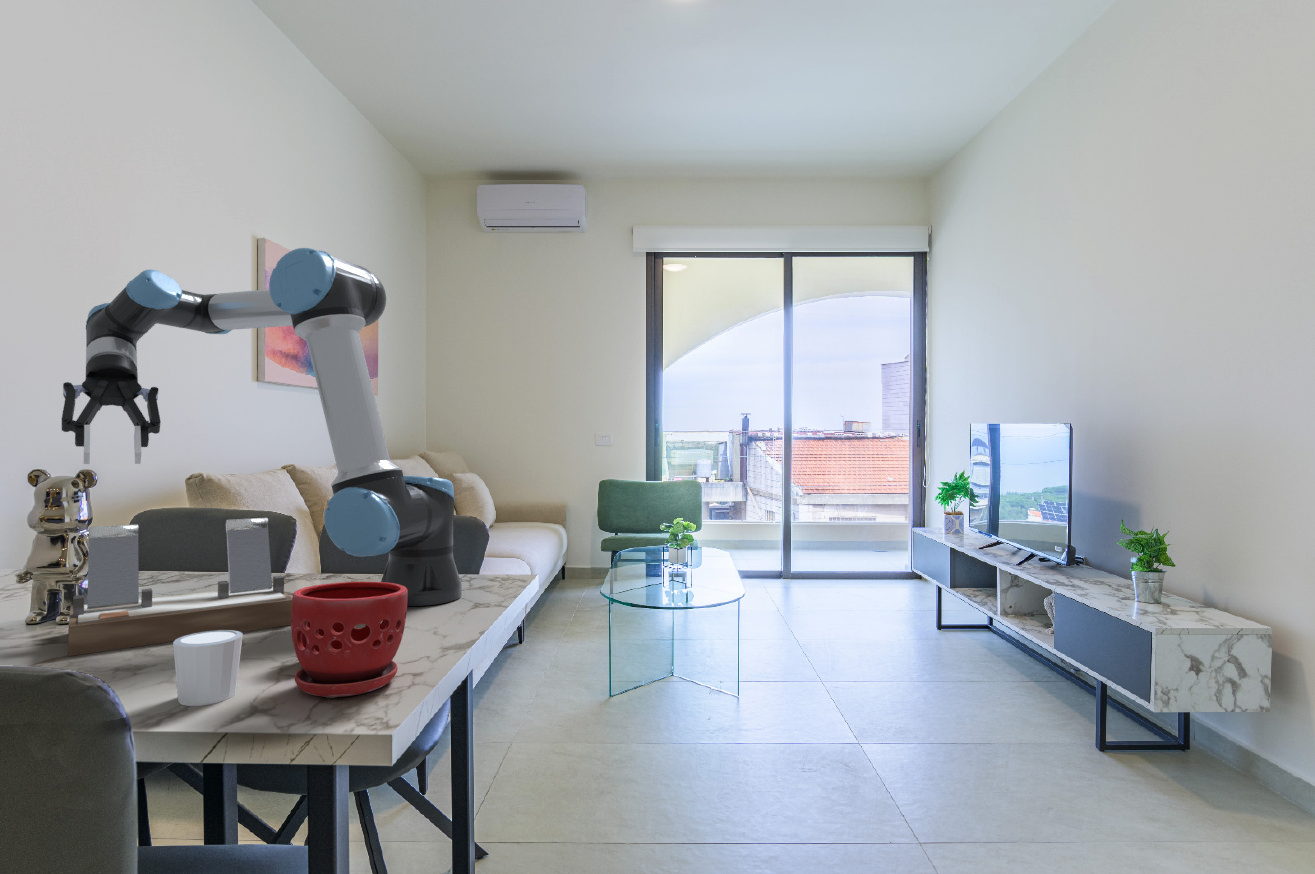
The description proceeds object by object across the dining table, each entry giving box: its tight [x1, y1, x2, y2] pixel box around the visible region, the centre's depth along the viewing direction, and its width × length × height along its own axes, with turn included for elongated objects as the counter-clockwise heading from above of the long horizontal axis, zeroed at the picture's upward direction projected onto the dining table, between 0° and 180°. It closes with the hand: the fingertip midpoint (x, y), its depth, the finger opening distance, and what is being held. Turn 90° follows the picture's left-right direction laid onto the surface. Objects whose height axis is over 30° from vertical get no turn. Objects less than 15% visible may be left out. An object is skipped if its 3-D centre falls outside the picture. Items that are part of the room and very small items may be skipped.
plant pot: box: [290, 581, 408, 700], centre depth 86 cm, size 13×13×12 cm
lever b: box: [86, 523, 140, 609], centre depth 106 cm, size 2×6×12 cm, turn 130°
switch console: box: [67, 575, 293, 657], centre depth 109 cm, size 14×28×7 cm, turn 130°
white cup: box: [172, 630, 244, 707], centre depth 81 cm, size 7×7×7 cm
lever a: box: [225, 517, 273, 594], centre depth 117 cm, size 2×6×12 cm, turn 130°
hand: (112, 458), depth 116 cm, fingers open, 6 cm apart
